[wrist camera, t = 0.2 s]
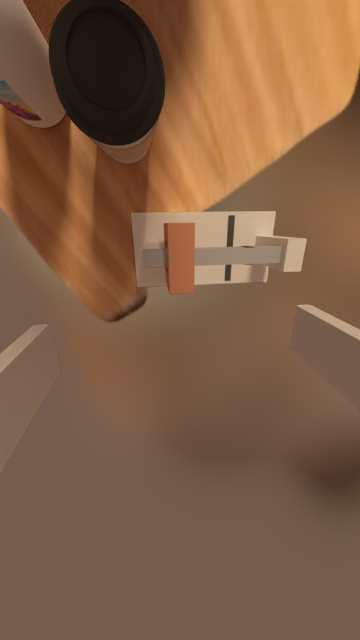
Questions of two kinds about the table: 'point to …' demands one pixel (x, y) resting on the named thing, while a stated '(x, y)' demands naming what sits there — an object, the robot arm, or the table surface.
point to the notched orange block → (180, 257)
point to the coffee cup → (108, 75)
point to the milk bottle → (26, 68)
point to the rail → (215, 238)
